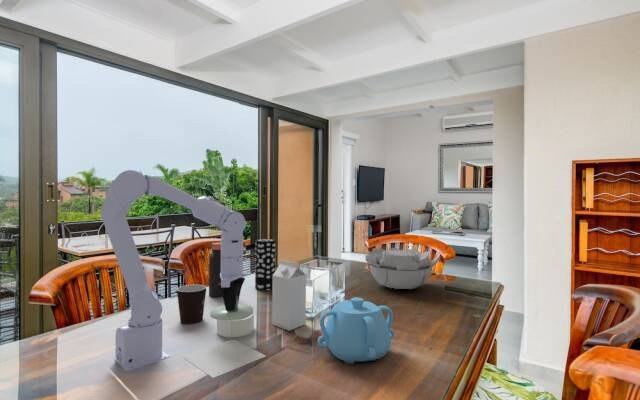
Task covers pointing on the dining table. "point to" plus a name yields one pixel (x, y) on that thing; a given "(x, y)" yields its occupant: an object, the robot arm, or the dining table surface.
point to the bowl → (235, 327)
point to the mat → (223, 357)
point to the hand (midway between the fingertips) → (231, 307)
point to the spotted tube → (264, 263)
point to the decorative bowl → (400, 267)
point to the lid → (231, 312)
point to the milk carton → (289, 296)
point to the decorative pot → (357, 330)
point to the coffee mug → (191, 303)
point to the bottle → (215, 270)
